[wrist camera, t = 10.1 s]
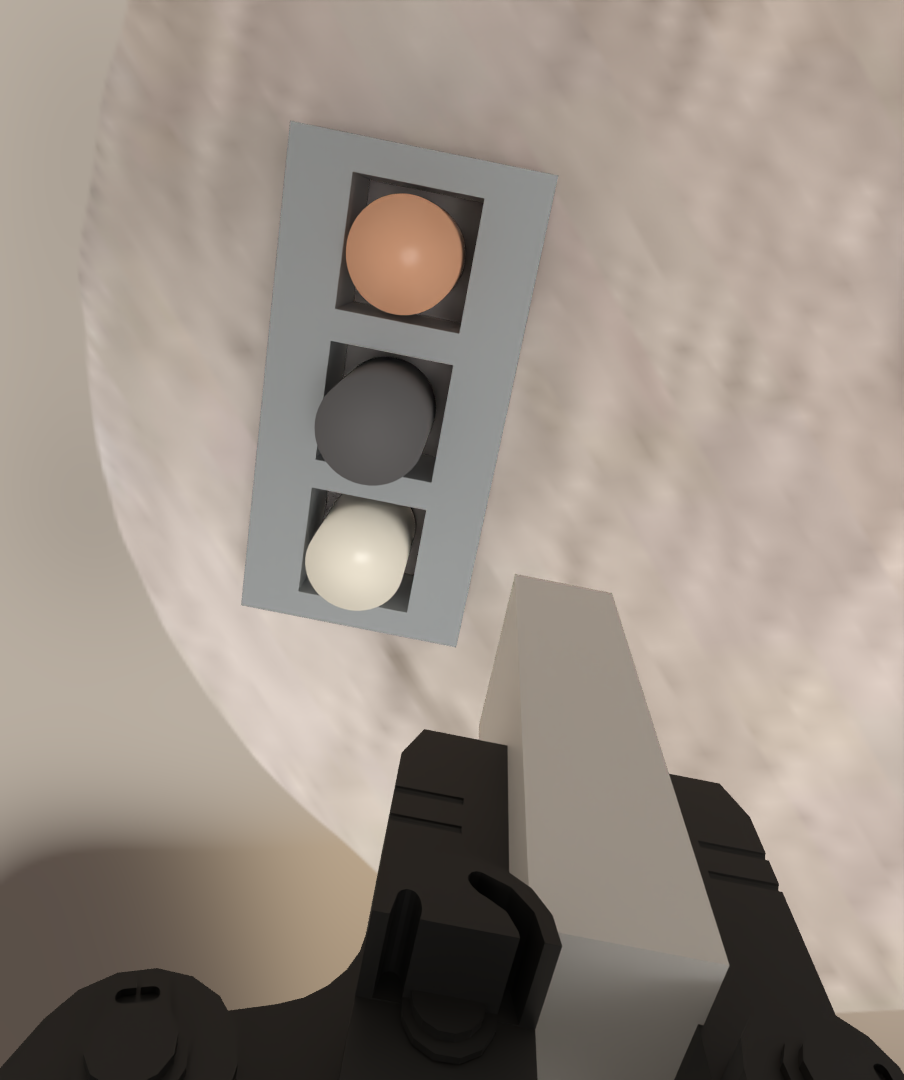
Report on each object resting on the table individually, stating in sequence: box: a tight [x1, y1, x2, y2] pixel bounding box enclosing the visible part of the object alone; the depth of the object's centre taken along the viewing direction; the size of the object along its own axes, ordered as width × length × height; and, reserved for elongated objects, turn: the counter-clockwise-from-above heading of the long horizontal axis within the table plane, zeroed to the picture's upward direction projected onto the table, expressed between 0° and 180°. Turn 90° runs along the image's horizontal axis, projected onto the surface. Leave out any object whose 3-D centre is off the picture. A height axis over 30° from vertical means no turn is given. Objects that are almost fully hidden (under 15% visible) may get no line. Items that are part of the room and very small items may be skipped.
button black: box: [314, 357, 436, 486], centre depth 38 cm, size 5×5×6 cm
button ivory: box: [305, 494, 415, 611], centre depth 42 cm, size 5×5×6 cm
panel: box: [241, 121, 558, 647], centre depth 41 cm, size 24×12×5 cm, turn 169°
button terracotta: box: [346, 194, 465, 315], centre depth 37 cm, size 5×5×6 cm
